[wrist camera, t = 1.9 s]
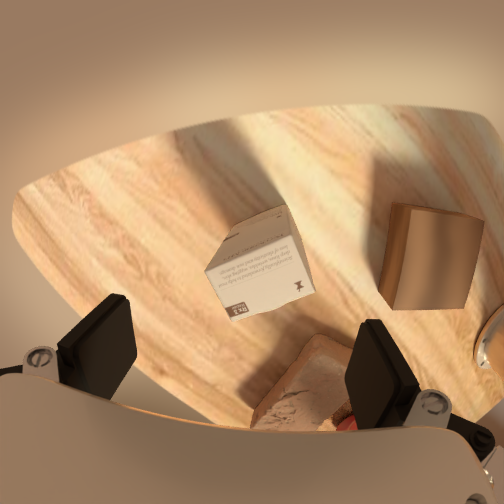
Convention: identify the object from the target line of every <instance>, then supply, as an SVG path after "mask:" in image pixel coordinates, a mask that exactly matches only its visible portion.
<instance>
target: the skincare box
mask: <svg viewBox="0 0 504 504" xmlns="http://www.w3.org/2000/svg"><path fill="white" fill-rule="evenodd" d="M205 274H206V276H207V278H208V279H209V281H210V283H211V285H212V287H213V289H214V290H215V292H216V294H217V296H218V298H219V299H220V301H221V303H222V305H223V307H224V308H225V310H226V312H227V314H228V316H229V318H230V320H231V321H232V322H234V321H237V320H240V319H243V318H246V317H249V316H252V315H255V314H258V313H263V312H268V311H272V310H275V309H277V308H279V307H281V306H283V305H284V304H286V303H289V302H291V301H294V300H296V299H299V298H302V297H304V296H307V295H310V294H312V293H314V292H315V291H316V290H315V287H314V284H313V280H312V275H311V271H310V267H309V264H308V260H307V257H306V253H305V250H304V246H303V243H302V239H301V236H300V234H299V231H298V229H297V226H296V224H295V222H294V219H293V217H292V215H291V212H290V210H289V208H288V206H287V205H286V204H285V205H281V206H278V207H275V208H272V209H270V210H267V211H265V212H262V213H260V214H258V215H255V216H253V217H251V218H249V219H246V220H244V221H242V222H240V223H238V224H236V225H234V226H233V227H232V229H231V231H230V232H229V234H228V235H227V237H226V238H225V240H224V241H223V243H222V244H221V246H220V247H219V249H218V250H217V252H216V254H215V255H214V257H213V258H212V260H211V262H210V263H209V265H208V266H207V268H206V269H205Z"/></svg>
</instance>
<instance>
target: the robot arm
mask: <svg viewBox="0 0 504 504" xmlns="http://www.w3.org/2000/svg"><path fill="white" fill-rule="evenodd" d="M57 346H58V350H57V351H55V350H54V349H53V348H51V347H47V346H39V347H35V348H33V349H31V350H30V351H28V352H27V353H26V355H25V356H24V359H23V365H18V366H13V367H8V368H3V369H0V504H504V448H502V447H501V446H498V447H497V448H496V447H495V439H494V436H493V434H492V433H491V432H490V431H489V430H488V429H486V428H485V427H482V426H480V425H478V424H475V423H473V422H470V421H468V420H466V419H463V418H461V417H459V416H457V415H454V414H452V413H451V410H452V404H451V401H450V399H449V398H448V397H447V396H446V395H445V394H444V393H442V392H440V391H437V390H434V389H427V390H423V391H421V389H420V387H419V385H420V384H419V383H418V381H417V379H416V377H415V376H414V374H413V372H412V370H411V369H410V367H409V365H408V363H407V362H406V360H405V358H404V357H403V355H402V353H401V352H400V350H399V348H398V347H397V345H396V343H395V342H394V340H393V338H392V337H391V335H390V334H389V332H388V330H387V329H386V327H385V326H384V324H383V322H382V321H381V320H380V319H367V320H366V321H365V323H361V325H360V328H359V331H358V335H357V338H356V341H355V345H354V348H353V351H352V354H351V357H350V360H349V363H348V366H347V369H346V372H345V377H344V380H345V385H346V388H347V392H348V395H349V399H350V402H351V406H352V410H353V413H354V417H355V421H356V425H357V429H358V430H345V431H276V430H261V429H249V428H239V427H230V426H222V425H215V424H208V423H202V422H196V421H190V420H185V419H180V418H175V417H170V416H166V415H161V414H157V413H153V412H149V411H145V410H141V409H137V408H134V407H130V406H127V405H123V404H120V403H117V402H113V401H110V399H111V398H112V396H113V394H114V393H115V391H116V390H117V388H118V387H119V385H120V383H121V382H122V380H123V378H124V377H125V375H126V374H127V372H128V371H129V369H130V368H131V366H132V365H133V363H134V361H135V360H136V358H137V348H136V342H135V336H134V330H133V323H132V317H131V309H130V302H129V300H128V299H126V297H125V296H124V295H120V294H114V293H112V294H110V295H109V296H108V297H107V298H106V299H104V300H103V301H102V302H101V303H100V304H99V305H98V306H97V307H96V308H94V309H93V310H92V311H91V312H90V313H89V314H88V315H87V316H86V317H85V318H83V319H82V320H81V321H80V322H79V323H78V324H77V325H76V326H75V327H74V328H73V329H72V330H71V331H70V332H69V333H68V334H67V335H66V336H64V337H63V338H62V339H61V341H59V342H58V343H57ZM474 360H475V362H476V364H477V365H478V366H479V368H482V369H489V368H492V369H493V370H494V371H495V372H496V374H497V375H498V376H499V377H500V379H501V380H502V381H503V382H504V305H502V306H501V307H500V308H499V309H498V310H497V311H496V312H495V313H494V314H493V315H492V316H491V318H490V319H489V320H488V322H487V323H486V325H485V326H484V328H483V330H482V331H481V333H480V336H479V338H478V340H477V343H476V346H475V350H474Z"/></svg>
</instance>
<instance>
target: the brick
mask: <svg viewBox="0 0 504 504" xmlns="http://www.w3.org/2000/svg"><path fill="white" fill-rule="evenodd" d="M352 351H353V349H352V348H349V347H346V346H344V345H342V344H340V343H338V342H337V341H335V340H333V339H332V338H330V337H328V336H325V335H323V334H315V335H314V336H313V337H312V338H311V339H310V341H309V342H308V343H307V344H306V345H305V346H304V348H303V349H302V351H301V352H300V354H299V357H298V358H297V359H296V360H295V361H294V362H293V363H292V364H291V365H290V366H289V368H288V370H287V372H286V373H285V374H284V375H282V376H281V378H280V379H279V381H278V382H277V383H276V385H275V386H273V388H272V389H271V390H270V391H269V393H268V394H267V395H266V396H265V397H264V399H263V400H262V401H261V403H260V404H259V405H258V406H257V407H256V409H255V410H254V412H253V415H252V420H251V425H250V429H261V430H276V431H316V430H317V429H318V427H319V426H321V425H322V423H323V422H324V420H326V419H328V418H329V417H330V416H331V415H332V414H334V413H335V412H336V411H337V410H338V409H339V408H340V407H341V406H342V405H343V404H344V403H346V401H347V400H348V399H349V395H348V392H347V388H346V385H345V380H344V377H345V372H346V369H347V366H348V363H349V360H350V357H351V354H352Z"/></svg>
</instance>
